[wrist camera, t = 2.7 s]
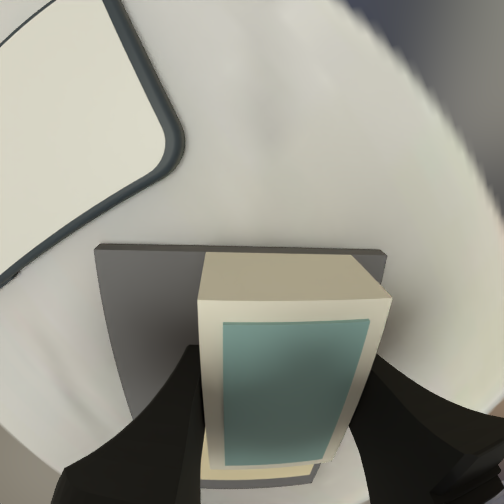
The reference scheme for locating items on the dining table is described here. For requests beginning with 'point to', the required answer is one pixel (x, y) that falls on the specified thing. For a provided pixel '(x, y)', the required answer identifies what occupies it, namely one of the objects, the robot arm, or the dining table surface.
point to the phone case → (76, 125)
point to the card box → (284, 354)
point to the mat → (179, 329)
